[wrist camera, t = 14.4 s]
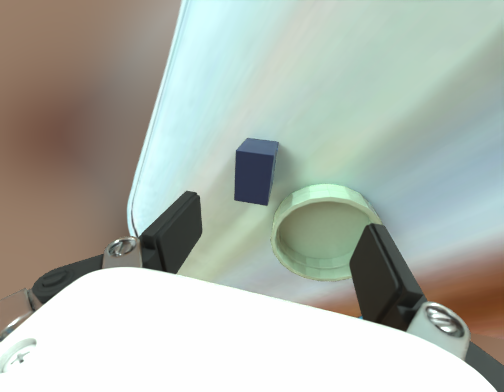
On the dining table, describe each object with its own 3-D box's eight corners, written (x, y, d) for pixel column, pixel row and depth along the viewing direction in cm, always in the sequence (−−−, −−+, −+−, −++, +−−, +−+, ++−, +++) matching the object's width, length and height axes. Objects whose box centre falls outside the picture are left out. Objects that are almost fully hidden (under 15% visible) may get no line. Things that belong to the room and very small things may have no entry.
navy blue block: (278, 141, 29) (274, 155, 23) (272, 184, 32) (267, 205, 27) (247, 137, 30) (235, 150, 24) (244, 180, 33) (234, 200, 27)
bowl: (392, 191, 29) (407, 208, 25) (355, 268, 37) (362, 290, 34) (280, 175, 31) (278, 188, 28) (268, 251, 40) (265, 270, 36)
